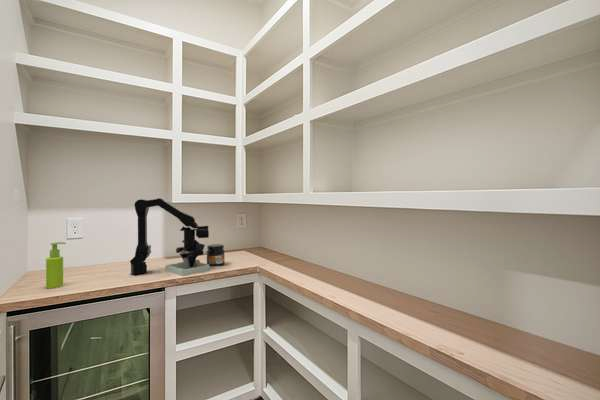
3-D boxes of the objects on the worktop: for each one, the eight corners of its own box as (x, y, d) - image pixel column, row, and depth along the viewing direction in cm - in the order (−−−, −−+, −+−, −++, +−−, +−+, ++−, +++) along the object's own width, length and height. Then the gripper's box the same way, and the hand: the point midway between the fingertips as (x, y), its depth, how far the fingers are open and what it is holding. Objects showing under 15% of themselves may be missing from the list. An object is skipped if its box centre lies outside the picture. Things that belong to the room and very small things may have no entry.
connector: (187, 270, 153) (187, 259, 153) (183, 268, 156) (183, 258, 156) (200, 267, 159) (200, 256, 159) (196, 266, 162) (196, 255, 162)
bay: (182, 277, 143) (182, 270, 143) (165, 271, 155) (164, 265, 155) (209, 271, 155) (209, 264, 155) (191, 266, 167) (191, 260, 167)
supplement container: (220, 267, 164) (220, 246, 164) (203, 267, 165) (203, 246, 165) (227, 263, 175) (227, 244, 175) (211, 263, 176) (211, 243, 176)
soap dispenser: (66, 285, 129) (66, 242, 129) (46, 289, 124) (46, 244, 125) (65, 283, 133) (65, 241, 134) (45, 286, 129) (45, 242, 129)
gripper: (211, 238, 157) (211, 266, 157) (193, 235, 168) (193, 261, 168) (193, 240, 148) (193, 270, 148) (175, 237, 160) (175, 265, 160)
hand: (189, 266), depth 156 cm, fingers closed on connector, 4 cm apart
